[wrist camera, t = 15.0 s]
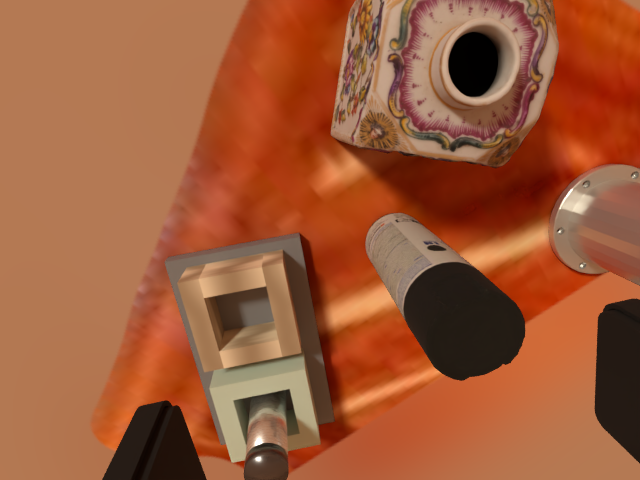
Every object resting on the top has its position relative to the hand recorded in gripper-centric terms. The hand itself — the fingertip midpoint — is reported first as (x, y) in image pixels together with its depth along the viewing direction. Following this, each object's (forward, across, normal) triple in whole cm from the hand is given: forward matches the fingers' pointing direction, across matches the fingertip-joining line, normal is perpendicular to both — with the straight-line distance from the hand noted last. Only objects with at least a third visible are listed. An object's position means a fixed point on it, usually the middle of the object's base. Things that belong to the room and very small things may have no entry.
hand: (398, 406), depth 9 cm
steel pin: (+32, +9, +24) cm, 41 cm away
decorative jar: (+34, -10, -7) cm, 36 cm away
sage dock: (+32, +9, +24) cm, 41 cm away
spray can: (+34, -8, +9) cm, 36 cm away
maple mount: (+32, +9, +12) cm, 36 cm away
